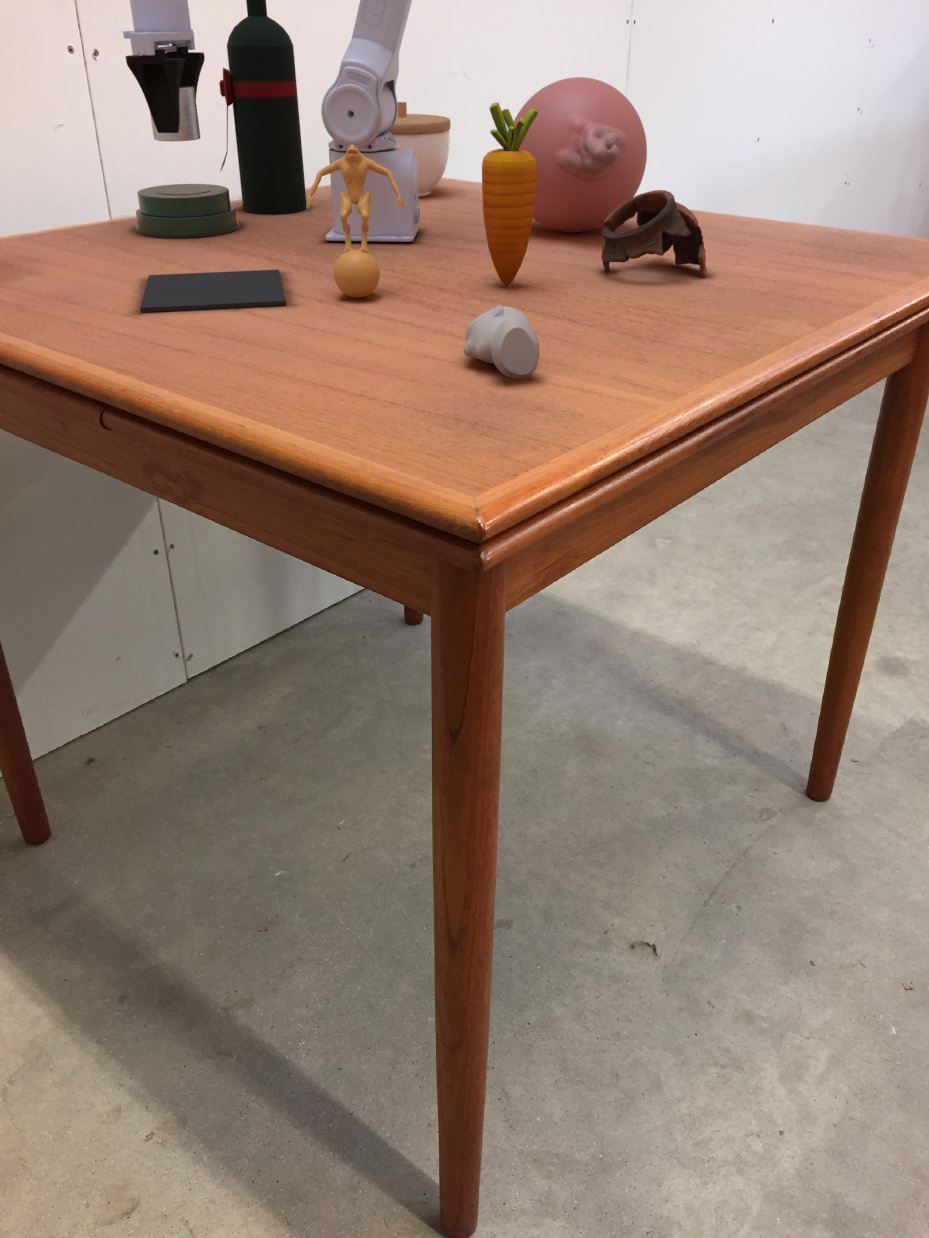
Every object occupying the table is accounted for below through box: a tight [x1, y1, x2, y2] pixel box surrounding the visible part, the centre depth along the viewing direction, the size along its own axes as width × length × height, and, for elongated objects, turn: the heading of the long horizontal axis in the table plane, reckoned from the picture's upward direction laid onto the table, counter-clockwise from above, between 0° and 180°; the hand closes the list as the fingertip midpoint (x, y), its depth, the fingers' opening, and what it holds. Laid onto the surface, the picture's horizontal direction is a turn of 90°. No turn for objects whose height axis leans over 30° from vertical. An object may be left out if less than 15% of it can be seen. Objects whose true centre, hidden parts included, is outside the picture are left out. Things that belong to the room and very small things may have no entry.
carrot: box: [481, 101, 538, 287], centre depth 88 cm, size 5×5×15 cm
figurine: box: [306, 145, 404, 299], centre depth 86 cm, size 8×6×12 cm
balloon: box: [513, 76, 648, 233], centre depth 108 cm, size 15×20×15 cm
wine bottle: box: [218, 0, 307, 215], centre depth 118 cm, size 8×10×30 cm
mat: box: [139, 269, 287, 313], centre depth 90 cm, size 12×12×1 cm
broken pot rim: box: [600, 189, 707, 278], centre depth 96 cm, size 12×10×8 cm
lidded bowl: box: [389, 101, 451, 198], centre depth 133 cm, size 13×13×11 cm
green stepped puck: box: [134, 183, 241, 239], centre depth 114 cm, size 12×12×4 cm
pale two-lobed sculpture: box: [463, 304, 541, 380], centre depth 71 cm, size 4×8×5 cm
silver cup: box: [149, 85, 201, 142], centre depth 107 cm, size 5×5×5 cm
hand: (176, 130), depth 108 cm, fingers closed on silver cup, 5 cm apart
